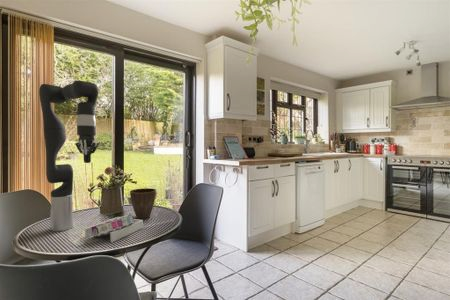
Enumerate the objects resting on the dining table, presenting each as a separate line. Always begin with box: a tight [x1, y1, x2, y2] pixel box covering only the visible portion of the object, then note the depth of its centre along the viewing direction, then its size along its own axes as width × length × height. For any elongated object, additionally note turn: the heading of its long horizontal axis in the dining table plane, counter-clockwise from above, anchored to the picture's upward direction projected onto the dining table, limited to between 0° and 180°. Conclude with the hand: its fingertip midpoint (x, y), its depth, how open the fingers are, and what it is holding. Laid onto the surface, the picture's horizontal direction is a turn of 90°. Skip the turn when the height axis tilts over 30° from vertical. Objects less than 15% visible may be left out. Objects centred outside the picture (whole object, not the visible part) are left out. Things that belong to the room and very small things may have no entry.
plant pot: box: [129, 187, 157, 220], centre depth 145 cm, size 15×15×16 cm
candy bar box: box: [91, 213, 135, 238], centre depth 116 cm, size 11×5×16 cm
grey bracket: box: [84, 216, 144, 243], centre depth 120 cm, size 17×20×4 cm
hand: (87, 162), depth 112 cm, fingers closed
